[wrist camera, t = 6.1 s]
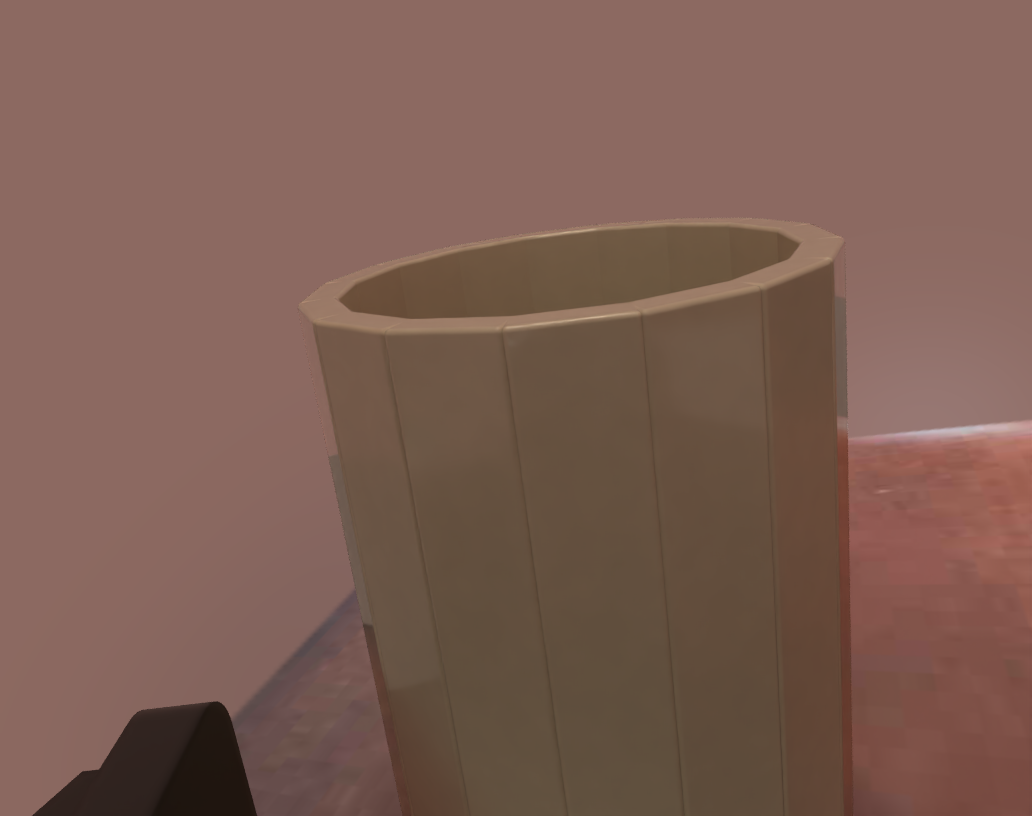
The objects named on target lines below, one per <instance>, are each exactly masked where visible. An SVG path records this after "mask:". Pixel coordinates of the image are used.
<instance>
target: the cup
mask: <svg viewBox="0 0 1032 816" xmlns="http://www.w3.org/2000/svg"><path fill="white" fill-rule="evenodd" d="M845 272H846V271H845V242H844V239H843V238H842V237H841V236H838V235H836V234H834V233H831V232H829V231H827V230H824V229H822V228H820V227H817V226H815V225H812V224H807V223H800V222H790V221H780V220H769V219H759V218H751V219H750V218H681V219H664V220H651V221H638V222H623V223H610V224H602V225H589V226H581V227H573V228H565V229H557V230H549V231H542V232H534V233H525V234H522V235H513V236H507V237H502V238H496V239H490V240H484V241H479V242H473V243H468V244H462V245H457V246H451V247H446V248H445V249H444V248H441V249H437V250H433V251H429V252H425V253H421V254H417V255H413V256H408V257H404V258H400V259H396V260H393V261H388V262H384V263H380V264H378V265H373V266H371V267H368V268H365V269H363V270H360V271H357V272H355V273H352V274H349V275H346V276H343V277H341V278H338V279H335V280H333V281H330V282H328V283H326V284H324V285H322V286H321V287H319V288H318V289H317V290H316V291H314V292H313V293H312V294H311V295H309V296H308V297H307V298H305V299H304V300H303V301H302V302H300V303H299V306H298V313H299V317H300V321H301V327H302V332H303V337H304V342H305V346H306V351H307V356H308V361H309V366H310V370H311V375H312V380H313V385H314V390H315V395H316V400H317V405H318V409H319V414H320V419H321V424H322V429H323V433H324V438H325V443H326V448H327V453H328V458H329V463H330V467H331V472H332V477H333V482H334V487H335V492H336V497H337V501H338V506H339V511H340V516H341V521H342V526H343V530H344V535H345V540H346V545H347V550H348V555H349V560H350V564H351V569H352V574H353V578H354V584H355V589H356V593H357V598H358V603H359V608H360V613H361V618H362V622H363V627H364V632H365V637H366V642H367V647H368V652H369V656H370V661H371V666H372V671H373V676H374V681H375V685H376V690H377V695H378V700H379V705H380V710H381V714H382V719H383V724H384V729H385V734H386V739H387V744H388V748H389V753H390V758H391V763H392V768H393V773H394V777H395V782H396V787H397V792H398V797H399V802H400V806H401V811H402V816H853V761H852V690H851V620H850V550H849V480H848V412H847V339H846V273H845Z"/></svg>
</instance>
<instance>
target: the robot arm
mask: <svg viewBox="0 0 1032 816" xmlns="http://www.w3.org/2000/svg"><path fill="white" fill-rule="evenodd" d="M33 816H257V814H256V810H255V806H254V803H253V799H252V795H251V792H250V788H249V784H248V780H247V777H246V773H245V769H244V766H243V762H242V758H241V754H240V751H239V747H238V743H237V740H236V736H235V732H234V728H233V725H232V721H231V718H230V716H229V713H228V711H227V710H226V708H225V706H224V705H223V704H221V703H220V702H208V703H199V704H190V705H181V706H174V707H164V708H156V709H147V710H141V711H139V712H137V713H136V714H135V715H134V716H133V717H132V718H131V720H130V721H129V723H128V724H127V726H126V727H125V729H124V731H123V732H122V734H121V735H120V737H119V739H118V740H117V742H116V744H115V745H114V747H113V748H112V750H111V752H110V753H109V755H108V756H107V758H106V760H105V761H104V763H103V764H102V766H101V768H100V769H99V770H92V771H83V772H81V773H80V774H79V775H78V776H77V777H76V778H74V779H73V780H72V781H71V782H70V783H69V784H68V785H67V786H65V787H64V788H63V789H62V790H61V791H60V792H59V793H57V794H56V795H55V796H54V797H53V798H52V799H51V800H49V801H48V802H47V803H46V804H45V805H44V806H43V807H42V808H40V809H39V810H38V811H37V812H36V813H35V814H34V815H33Z"/></svg>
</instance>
